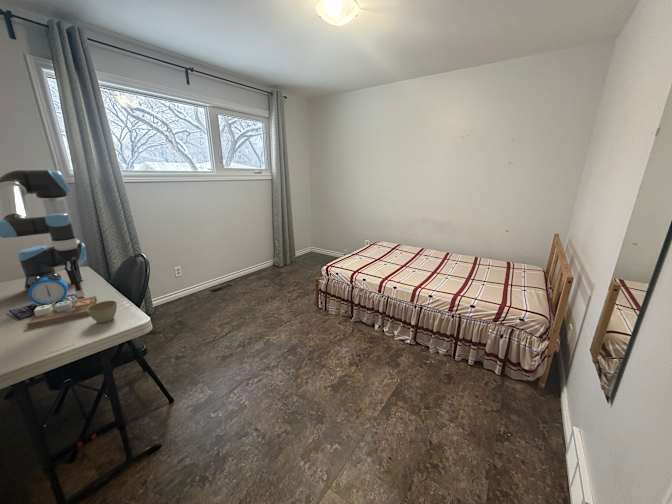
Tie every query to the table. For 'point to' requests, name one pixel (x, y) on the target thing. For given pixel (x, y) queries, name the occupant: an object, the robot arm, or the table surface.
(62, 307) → the two-dot tile
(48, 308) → the tile
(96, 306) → the beige bowl
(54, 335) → the table surface
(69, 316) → the board
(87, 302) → the tile
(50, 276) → the alarm clock
